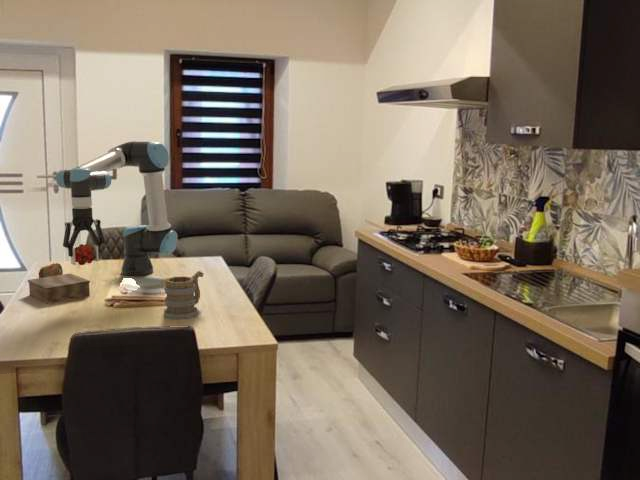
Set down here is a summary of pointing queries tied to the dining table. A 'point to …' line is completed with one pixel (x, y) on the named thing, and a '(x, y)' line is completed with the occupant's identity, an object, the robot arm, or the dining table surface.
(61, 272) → the tin
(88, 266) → the dining table surface
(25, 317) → the dining table surface
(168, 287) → the tankard
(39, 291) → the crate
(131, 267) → the robot arm
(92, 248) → the dragon fruit
